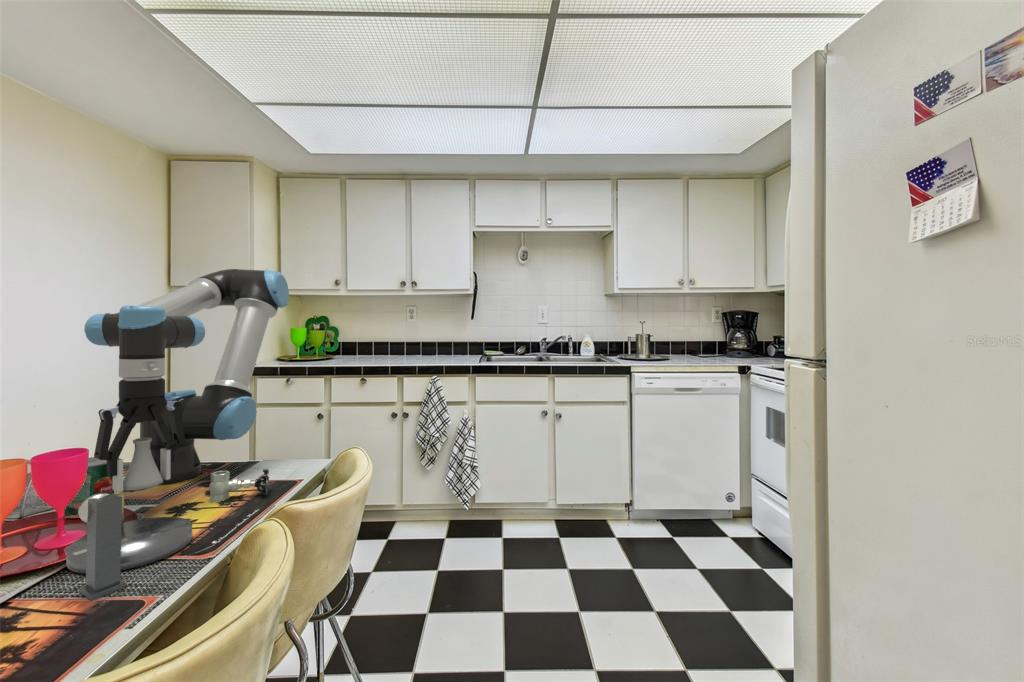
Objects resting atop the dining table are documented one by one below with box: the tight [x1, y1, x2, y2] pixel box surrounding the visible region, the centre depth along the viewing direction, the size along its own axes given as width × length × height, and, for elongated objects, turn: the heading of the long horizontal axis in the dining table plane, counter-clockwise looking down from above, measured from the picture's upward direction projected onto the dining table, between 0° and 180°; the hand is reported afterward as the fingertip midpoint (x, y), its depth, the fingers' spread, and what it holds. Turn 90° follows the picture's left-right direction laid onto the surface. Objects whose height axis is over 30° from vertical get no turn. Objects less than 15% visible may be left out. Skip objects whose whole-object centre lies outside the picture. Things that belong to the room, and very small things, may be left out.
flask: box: [123, 437, 163, 491], centre depth 92 cm, size 7×7×10 cm
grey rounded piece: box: [65, 492, 193, 574], centre depth 78 cm, size 17×17×8 cm
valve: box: [208, 468, 270, 503], centre depth 104 cm, size 7×7×12 cm
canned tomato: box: [65, 456, 115, 519], centre depth 94 cm, size 8×8×11 cm
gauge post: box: [78, 493, 127, 601], centre depth 66 cm, size 4×5×14 cm
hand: (142, 483), depth 93 cm, fingers closed on flask, 8 cm apart
